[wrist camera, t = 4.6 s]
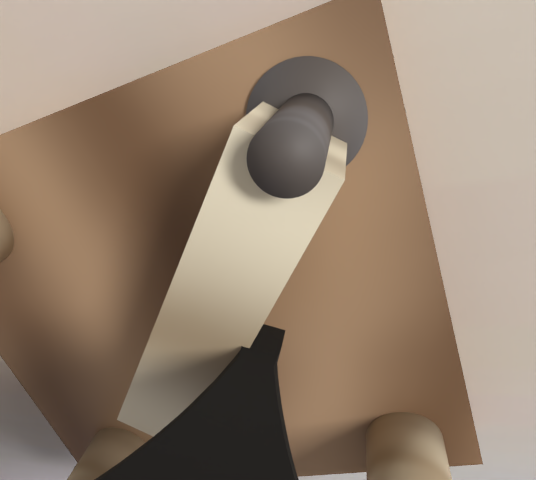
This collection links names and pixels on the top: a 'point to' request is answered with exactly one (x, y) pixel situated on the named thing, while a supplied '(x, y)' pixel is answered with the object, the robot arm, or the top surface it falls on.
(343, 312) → the stool seat
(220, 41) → the top surface
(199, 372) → the hinged leg
